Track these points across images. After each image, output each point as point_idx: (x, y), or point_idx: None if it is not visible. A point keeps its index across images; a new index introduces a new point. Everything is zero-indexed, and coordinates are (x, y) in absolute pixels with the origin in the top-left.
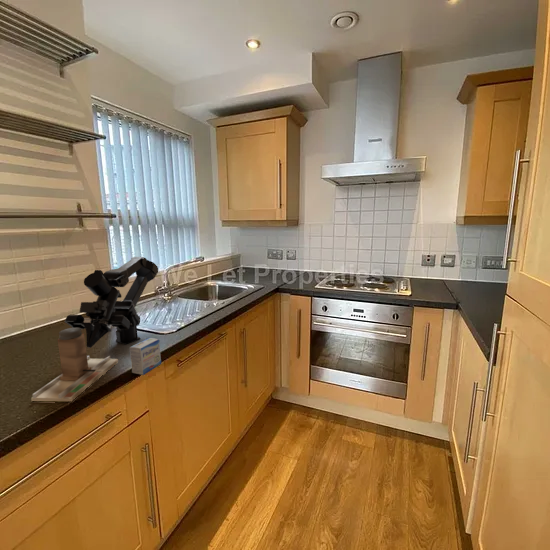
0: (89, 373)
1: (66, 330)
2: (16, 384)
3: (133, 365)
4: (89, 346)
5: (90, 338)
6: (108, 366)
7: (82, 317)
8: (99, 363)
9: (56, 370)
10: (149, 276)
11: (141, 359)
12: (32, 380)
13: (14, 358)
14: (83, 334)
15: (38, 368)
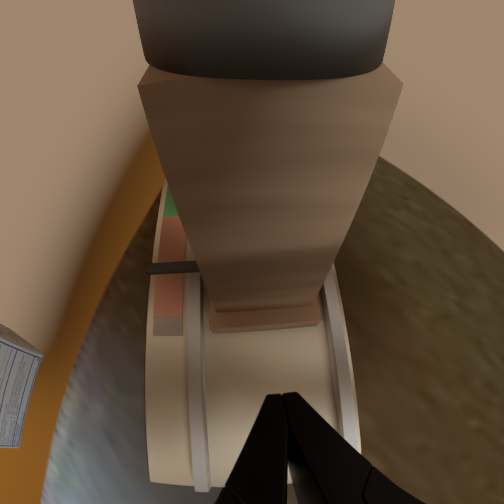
0: (189, 284)
1: None
2: (454, 231)
3: (13, 338)
4: (265, 398)
5: (284, 452)
6: (147, 389)
7: None
8: (196, 389)
9: (432, 347)
10: None
11: None
12: (438, 259)
13: None
14: (144, 93)
15: (499, 340)
